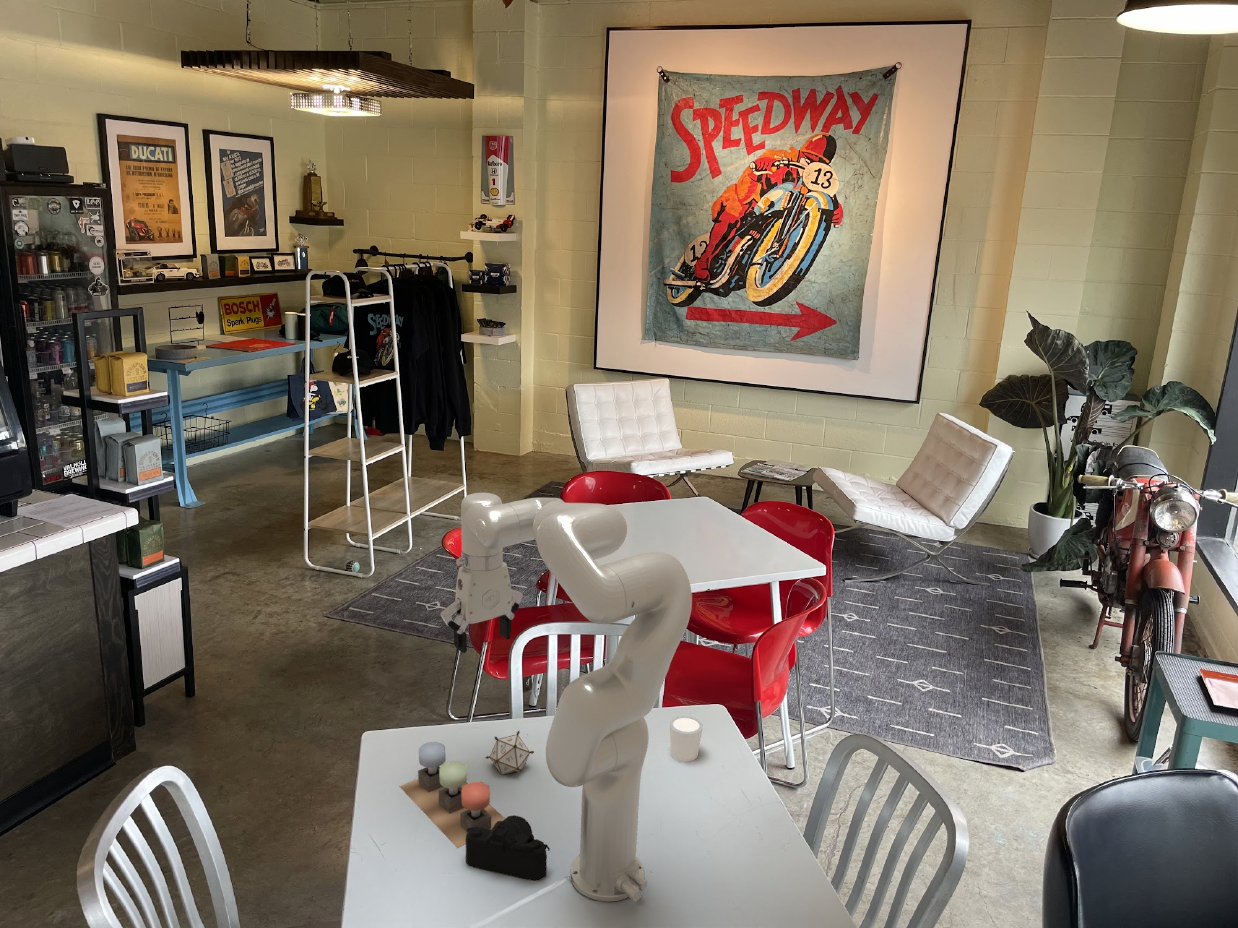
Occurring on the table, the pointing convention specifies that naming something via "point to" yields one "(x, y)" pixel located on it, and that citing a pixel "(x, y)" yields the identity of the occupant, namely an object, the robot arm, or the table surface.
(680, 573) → the robot arm
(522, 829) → the film camera
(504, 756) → the game die
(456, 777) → the sage button
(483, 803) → the brick button
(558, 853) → the table surface
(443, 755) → the slate button
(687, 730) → the white cylinder
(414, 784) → the wooden button base
